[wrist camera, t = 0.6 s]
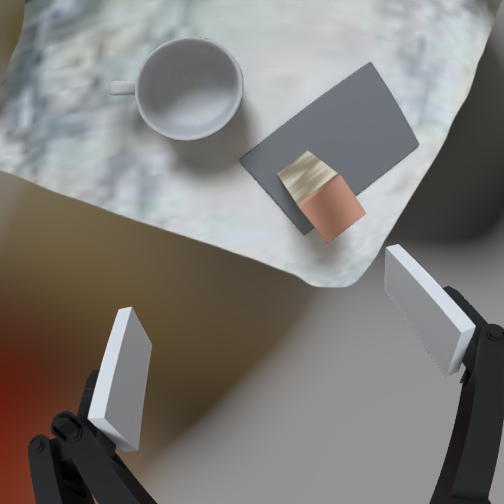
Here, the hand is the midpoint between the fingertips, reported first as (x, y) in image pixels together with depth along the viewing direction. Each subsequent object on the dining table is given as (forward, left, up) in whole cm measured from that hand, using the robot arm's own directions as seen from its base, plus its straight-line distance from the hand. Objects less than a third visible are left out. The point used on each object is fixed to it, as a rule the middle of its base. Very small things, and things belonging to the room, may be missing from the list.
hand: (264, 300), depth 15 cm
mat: (-12, +7, -27) cm, 30 cm away
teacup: (-2, -12, -27) cm, 30 cm away
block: (-6, +7, -27) cm, 28 cm away
